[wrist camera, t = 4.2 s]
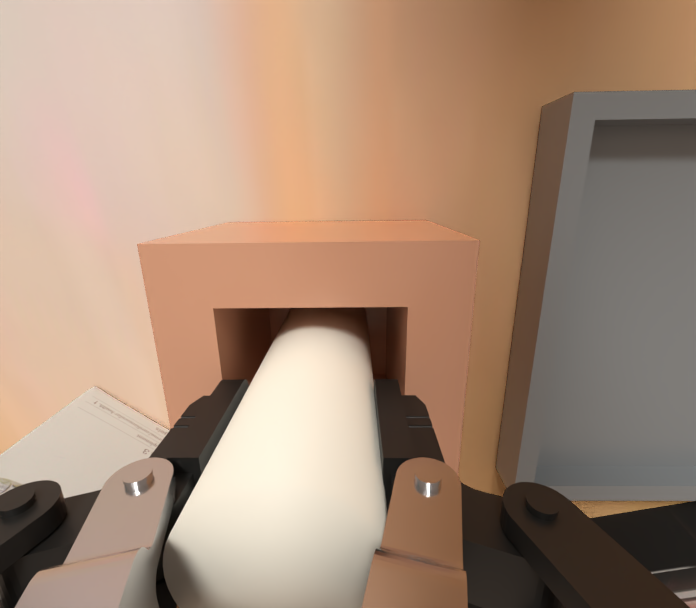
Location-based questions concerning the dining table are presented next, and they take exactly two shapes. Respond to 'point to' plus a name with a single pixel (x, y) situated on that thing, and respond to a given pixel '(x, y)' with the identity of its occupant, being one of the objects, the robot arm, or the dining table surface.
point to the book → (659, 544)
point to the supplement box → (81, 445)
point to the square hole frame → (316, 304)
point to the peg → (290, 480)
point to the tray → (607, 303)
